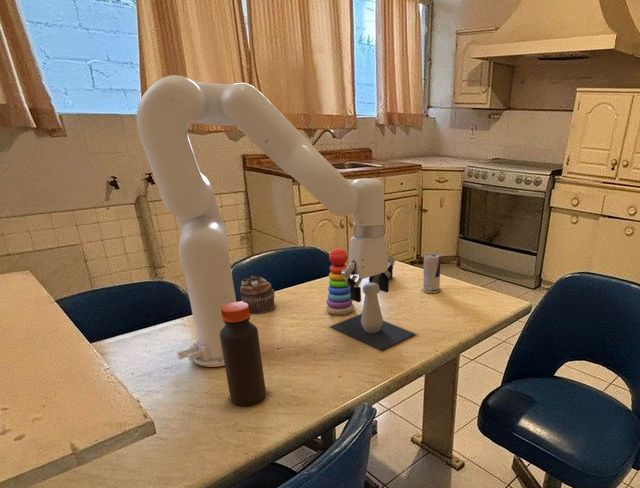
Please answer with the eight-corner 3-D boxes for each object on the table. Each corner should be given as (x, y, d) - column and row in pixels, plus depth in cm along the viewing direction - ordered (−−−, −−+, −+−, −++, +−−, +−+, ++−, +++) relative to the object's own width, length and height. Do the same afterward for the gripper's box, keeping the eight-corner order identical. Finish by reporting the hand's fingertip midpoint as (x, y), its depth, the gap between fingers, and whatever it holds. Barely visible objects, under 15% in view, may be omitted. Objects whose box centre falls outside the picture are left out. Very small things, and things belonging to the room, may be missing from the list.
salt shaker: (359, 326, 123) (357, 281, 118) (380, 324, 125) (379, 279, 120) (363, 335, 118) (361, 289, 113) (385, 333, 120) (384, 286, 115)
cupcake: (267, 315, 130) (263, 282, 126) (236, 313, 131) (231, 280, 128) (282, 303, 139) (278, 272, 135) (253, 300, 140) (248, 270, 136)
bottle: (225, 396, 93) (209, 306, 85) (256, 384, 97) (244, 297, 89) (239, 411, 88) (224, 317, 81) (272, 397, 92) (260, 307, 85)
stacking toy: (351, 316, 130) (348, 253, 123) (324, 315, 130) (319, 252, 123) (355, 305, 138) (353, 245, 131) (329, 305, 138) (325, 245, 131)
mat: (382, 351, 111) (382, 349, 111) (330, 327, 123) (330, 325, 123) (415, 335, 120) (415, 333, 119) (363, 314, 132) (363, 312, 132)
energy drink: (442, 289, 151) (443, 255, 146) (434, 294, 147) (435, 259, 142) (428, 286, 154) (429, 252, 149) (420, 291, 149) (420, 256, 145)
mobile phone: (386, 264, 161) (365, 275, 148) (394, 265, 160) (373, 276, 147) (386, 277, 162) (365, 290, 150) (394, 278, 161) (373, 291, 148)
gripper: (383, 223, 120) (383, 284, 126) (331, 233, 107) (334, 300, 114) (404, 227, 115) (403, 291, 121) (351, 239, 103) (354, 309, 109)
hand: (370, 295), depth 118 cm, fingers open, 9 cm apart
